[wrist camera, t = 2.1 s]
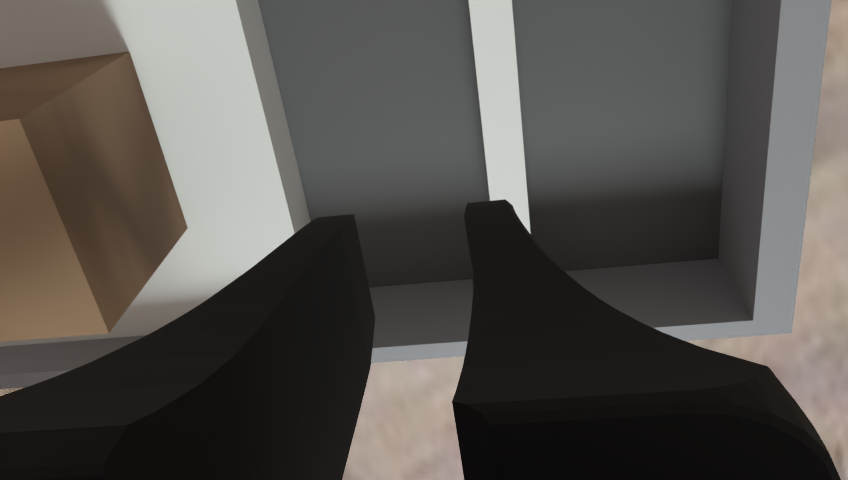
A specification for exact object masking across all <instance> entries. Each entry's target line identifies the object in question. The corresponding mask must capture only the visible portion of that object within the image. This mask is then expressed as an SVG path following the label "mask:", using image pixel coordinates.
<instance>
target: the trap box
mask: <svg viewBox="0 0 848 480" xmlns="http://www.w3.org/2000/svg"><path fill="white" fill-rule="evenodd" d="M830 8H831V0H0V68H7V67H14V66H22V65H30V64H37V63H45V62H53V61H61V60H68V59H76V58H84V57H91V56H99V55H107V54H114V53H122V52H130V54H131V57H132V60H133V63H134V66H135V69H136V73H137V76H138V79H139V82H140V85H141V88H142V91H143V94H144V97H145V100H146V103H147V106H148V109H149V112H150V115H151V118H152V121H153V124H154V127H155V130H156V133H157V136H158V139H159V142H160V145H161V148H162V151H163V154H164V158H165V161H166V164H167V167H168V170H169V173H170V176H171V179H172V182H173V185H174V188H175V191H176V194H177V197H178V200H179V203H180V206H181V209H182V212H183V215H184V218H185V221H186V224H187V227H188V228H187V230H186V231H185V232H184V234H183V235H182V236H181V238H180V239H179V240H178V242H177V243H176V244H175V246H174V247H173V248H172V250H171V251H170V252H169V254H168V255H167V256H166V258H165V259H164V260H163V262H162V263H161V264H160V266H159V267H158V268H157V270H156V271H155V272H154V274H153V275H152V276H151V278H150V279H149V280H148V282H147V283H146V284H145V286H144V287H143V289H142V290H141V291H140V293H139V294H138V295H137V297H136V298H135V299H134V301H133V302H132V303H131V305H130V306H129V307H128V309H127V310H126V311H125V313H124V314H123V315H122V317H121V318H120V319H119V321H118V322H117V323H116V325H115V326H114V327H113V329H112V330H111V331H110V333H107V334H94V335H82V336H69V337H56V338H43V339H31V340H18V341H5V342H0V389H4V388H18V387H29V386H31V385H34V384H37V383H39V382H42V381H45V380H48V379H50V378H53V377H56V376H58V375H60V374H63V373H65V372H68V371H70V370H73V369H75V368H78V367H80V366H83V365H85V364H87V363H90V362H92V361H94V360H96V359H98V358H100V357H102V356H105V355H107V354H109V353H111V352H113V351H115V350H117V349H119V348H121V347H123V346H125V345H128V344H130V343H132V342H134V341H136V340H138V339H140V338H142V337H144V336H146V335H148V334H150V333H152V332H154V331H156V330H157V329H159V328H161V327H163V326H164V325H166V324H168V323H170V322H171V321H173V320H175V319H177V318H178V317H180V316H182V315H184V314H185V313H187V312H188V311H190V310H192V309H193V308H195V307H196V306H198V305H200V304H201V303H203V302H204V301H206V300H207V299H209V298H210V297H212V296H213V295H214V294H216V293H217V292H219V291H220V290H221V289H223V288H224V287H225V286H227V285H228V284H230V283H231V282H232V281H234V280H235V279H237V278H238V277H239V276H241V275H242V274H244V273H245V272H246V271H248V270H249V269H251V268H252V267H253V266H254V265H256V264H257V263H258V262H259V261H261V260H262V259H263V258H265V257H266V256H267V255H268V254H270V253H271V252H272V251H273V250H275V249H276V248H277V247H278V246H280V245H281V244H282V243H283V242H285V241H286V240H287V239H288V238H290V237H291V236H292V235H294V234H295V233H296V232H297V231H299V230H300V229H301V228H303V227H304V226H305V225H307V224H308V223H310V222H311V221H313V220H314V219H316V218H318V217H328V216H338V215H349V214H354V217H355V222H356V226H357V231H358V236H359V241H360V246H361V251H362V255H363V260H364V265H365V270H366V275H367V280H368V285H369V289H370V294H371V299H372V304H373V309H374V314H375V326H374V338H373V348H372V357H371V363H375V362H389V361H404V360H418V359H432V358H446V357H461V356H465V353H466V347H467V342H468V336H469V328H470V320H471V312H472V300H473V284H472V276H471V268H470V260H469V252H468V244H467V237H466V229H465V221H464V214H465V209H466V205H467V203H473V202H484V201H494V200H504V199H505V200H507V201H508V202H509V203H510V204H512V205H513V208H514V210H515V212H516V214H517V216H518V217H519V219H520V221H521V222H522V223H523V225H524V226H525V228H526V229H527V230H528V232H529V233H530V234H531V236H532V237H533V238H534V239H535V240H536V242H537V243H538V244H539V245H540V246H541V247H542V248H543V249H544V251H545V252H546V253H547V254H548V255H549V256H550V257H551V258H552V259H553V260H554V261H555V262H556V263H557V264H558V265H559V266H560V267H561V268H562V269H563V270H564V271H565V272H566V273H567V274H568V275H570V276H571V277H572V278H573V279H574V280H575V281H576V282H578V283H579V284H580V285H581V286H582V287H584V288H585V289H587V290H588V291H589V292H591V293H592V294H594V295H595V296H596V297H598V298H599V299H601V300H602V301H604V302H606V303H607V304H609V305H610V306H612V307H614V308H615V309H617V310H619V311H621V312H623V313H625V314H627V315H628V316H630V317H632V318H634V319H636V320H638V321H640V322H641V323H643V324H646V325H648V326H650V327H652V328H654V329H657V330H659V331H661V332H663V333H665V334H668V335H671V336H673V337H676V338H678V339H681V340H683V341H689V340H703V339H717V338H732V337H746V336H760V335H774V334H789V333H792V327H793V318H794V310H795V302H796V293H797V285H798V276H799V268H800V260H801V251H802V243H803V234H804V226H805V218H806V209H807V201H808V192H809V184H810V176H811V167H812V159H813V150H814V142H815V134H816V125H817V117H818V108H819V100H820V92H821V83H822V75H823V66H824V58H825V50H826V41H827V33H828V24H829V16H830Z"/></svg>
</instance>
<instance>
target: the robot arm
mask: <svg viewBox="0 0 848 480" xmlns="http://www.w3.org/2000/svg"><path fill="white" fill-rule="evenodd" d="M464 221H465V229H466V237H467V244H468V252H469V260H470V268H471V276H472V284H473V300H472V312H471V320H470V328H469V336H468V342H467V347H466V353H465V358H464V364H463V368H462V372H461V375H460V379H459V382H458V386H457V389H456V393H455V395H454V398H453V401H452V403H453V409H454V416H455V422H456V429H457V435H458V441H459V448H460V454H461V460H462V467H463V473H464V480H841V479H840V477H839V475H838V472H837V470H836V468H835V466H834V463H833V461H832V459H831V457H830V454H829V452H828V451H827V449H826V447H825V445H824V443H823V442H822V440H821V438H820V436H819V435H818V433H817V431H816V430H815V428H814V426H813V425H812V423H811V422H810V420H809V419H808V418H807V416H806V415H805V414H804V412H803V411H802V410H801V408H800V407H799V405H798V404H797V403H796V401H795V400H794V399H793V397H792V396H791V395H790V394H789V392H788V391H787V390H786V389H785V387H784V386H783V385H782V384H781V382H780V381H779V380H778V379H777V377H776V376H775V375H774V373H773V372H772V371H771V369H770V368H769V367H768V366H764V365H761V364H757V363H754V362H750V361H747V360H743V359H740V358H736V357H733V356H729V355H726V354H722V353H719V352H715V351H712V350H708V349H705V348H702V347H699V346H696V345H694V344H691V343H688V342H686V341H683V340H681V339H678V338H676V337H673V336H671V335H668V334H665V333H663V332H661V331H659V330H657V329H654V328H652V327H650V326H648V325H646V324H643V323H641V322H640V321H638V320H636V319H634V318H632V317H630V316H628V315H627V314H625V313H623V312H621V311H619V310H617V309H615V308H614V307H612V306H610V305H609V304H607V303H606V302H604V301H602V300H601V299H599V298H598V297H596V296H595V295H594V294H592V293H591V292H589V291H588V290H587V289H585V288H584V287H582V286H581V285H580V284H579V283H578V282H576V281H575V280H574V279H573V278H572V277H571V276H570V275H568V274H567V273H566V272H565V271H564V270H563V269H562V268H561V267H560V266H559V265H558V264H557V263H556V262H555V261H554V260H553V259H552V258H551V257H550V256H549V255H548V254H547V253H546V252H545V251H544V249H543V248H542V247H541V246H540V245H539V244H538V243H537V242H536V240H535V239H534V238H533V237H532V236H531V234H530V233H529V232H528V230H527V229H526V228H525V226H524V225H523V223H522V222H521V221H520V219H519V217H518V216H517V214H516V212H515V210H514V208H513V205H512V204H510V203H509V202H508V201H507V200H505V199H504V200H494V201H484V202H473V203H467V205H466V209H465V214H464ZM374 326H375V314H374V309H373V304H372V299H371V294H370V289H369V285H368V280H367V275H366V270H365V265H364V260H363V255H362V251H361V246H360V241H359V236H358V231H357V226H356V222H355V217H354V214H349V215H338V216H328V217H318V218H316V219H314V220H313V221H311V222H310V223H308V224H307V225H305V226H304V227H303V228H301V229H300V230H299V231H297V232H296V233H295V234H294V235H292V236H291V237H290V238H288V239H287V240H286V241H285V242H283V243H282V244H281V245H280V246H278V247H277V248H276V249H275V250H273V251H272V252H271V253H270V254H268V255H267V256H266V257H265V258H263V259H262V260H261V261H259V262H258V263H257V264H256V265H254V266H253V267H252V268H251V269H249V270H248V271H246V272H245V273H244V274H242V275H241V276H239V277H238V278H237V279H235V280H234V281H232V282H231V283H230V284H228V285H227V286H225V287H224V288H223V289H221V290H220V291H219V292H217V293H216V294H214V295H213V296H212V297H210V298H209V299H207V300H206V301H204V302H203V303H201V304H200V305H198V306H196V307H195V308H193V309H192V310H190V311H188V312H187V313H185V314H184V315H182V316H180V317H178V318H177V319H175V320H173V321H171V322H170V323H168V324H166V325H164V326H163V327H161V328H159V329H157V330H156V331H154V332H152V333H150V334H148V335H146V336H144V337H142V338H140V339H138V340H136V341H134V342H132V343H130V344H128V345H125V346H123V347H121V348H119V349H117V350H115V351H113V352H111V353H109V354H107V355H105V356H102V357H100V358H98V359H96V360H94V361H92V362H90V363H87V364H85V365H83V366H80V367H78V368H75V369H73V370H70V371H68V372H65V373H63V374H60V375H58V376H56V377H53V378H50V379H48V380H45V381H42V382H39V383H37V384H34V385H31V386H29V387H26V388H23V389H20V390H18V391H15V392H12V393H9V394H6V395H3V396H0V480H342V477H343V473H344V469H345V466H346V462H347V458H348V454H349V450H350V446H351V442H352V438H353V434H354V431H355V427H356V423H357V419H358V415H359V411H360V407H361V403H362V399H363V395H364V391H365V387H366V383H367V379H368V375H369V371H370V366H371V357H372V348H373V338H374Z"/></svg>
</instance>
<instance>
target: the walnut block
mask: <svg viewBox="0 0 848 480" xmlns="http://www.w3.org/2000/svg"><path fill="white" fill-rule="evenodd" d="M187 228H188V227H187V224H186V221H185V218H184V215H183V212H182V209H181V206H180V203H179V200H178V197H177V194H176V191H175V188H174V185H173V182H172V179H171V176H170V173H169V170H168V167H167V164H166V161H165V158H164V154H163V151H162V148H161V145H160V142H159V139H158V136H157V133H156V130H155V127H154V124H153V121H152V118H151V115H150V112H149V109H148V106H147V103H146V100H145V97H144V94H143V91H142V88H141V85H140V82H139V79H138V76H137V73H136V69H135V66H134V63H133V60H132V57H131V54H130V52H122V53H114V54H107V55H99V56H91V57H84V58H76V59H68V60H61V61H53V62H45V63H37V64H30V65H22V66H14V67H7V68H0V342H5V341H18V340H31V339H43V338H56V337H69V336H82V335H94V334H107V333H110V331H111V330H112V329H113V327H114V326H115V325H116V323H117V322H118V321H119V319H120V318H121V317H122V315H123V314H124V313H125V311H126V310H127V309H128V307H129V306H130V305H131V303H132V302H133V301H134V299H135V298H136V297H137V295H138V294H139V293H140V291H141V290H142V289H143V287H144V286H145V284H146V283H147V282H148V280H149V279H150V278H151V276H152V275H153V274H154V272H155V271H156V270H157V268H158V267H159V266H160V264H161V263H162V262H163V260H164V259H165V258H166V256H167V255H168V254H169V252H170V251H171V250H172V248H173V247H174V246H175V244H176V243H177V242H178V240H179V239H180V238H181V236H182V235H183V234H184V232H185V231H186V230H187Z"/></svg>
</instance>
